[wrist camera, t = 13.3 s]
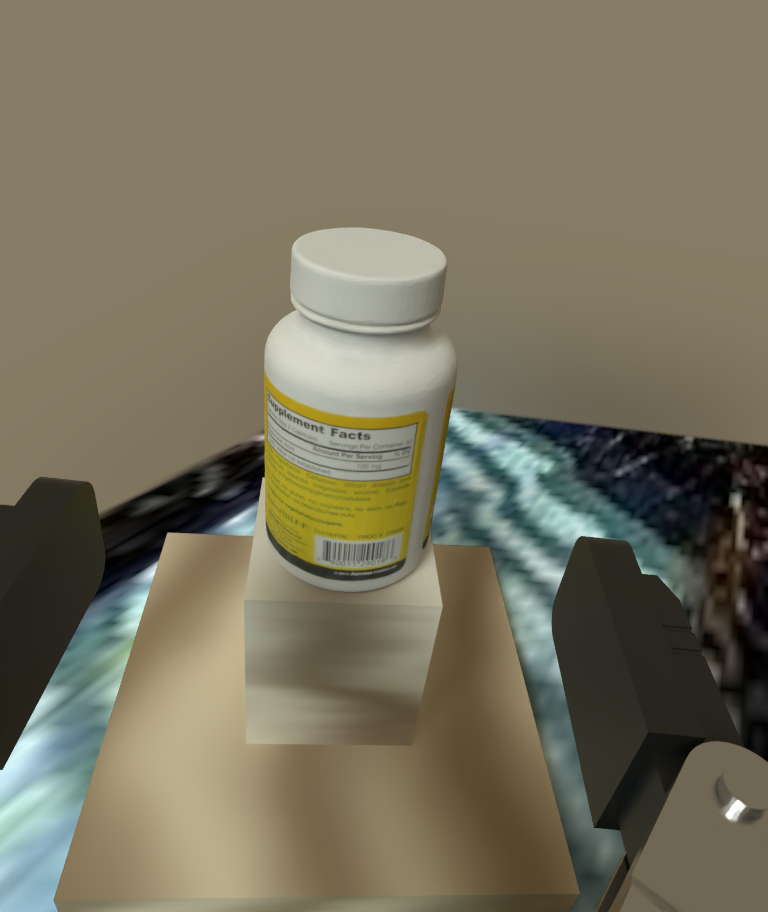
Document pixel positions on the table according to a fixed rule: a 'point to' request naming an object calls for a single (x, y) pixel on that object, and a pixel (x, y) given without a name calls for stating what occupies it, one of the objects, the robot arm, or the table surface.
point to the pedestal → (319, 747)
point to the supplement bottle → (357, 408)
